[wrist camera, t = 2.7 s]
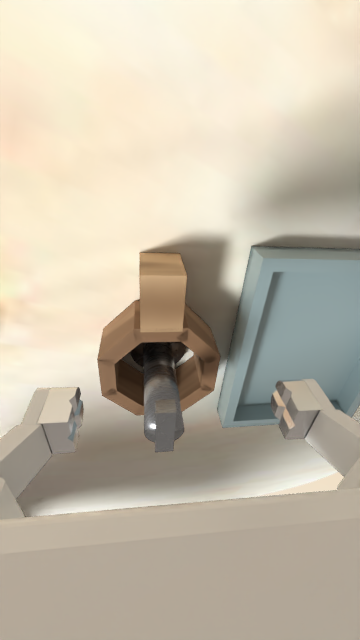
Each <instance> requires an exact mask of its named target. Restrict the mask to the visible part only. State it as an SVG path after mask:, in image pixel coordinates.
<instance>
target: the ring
mask: <svg viewBox="0 0 360 640" xmlns="http://www.w3.org/2000/svg"><path fill="white" fill-rule="evenodd" d="M186 283H187V274H186V271H185V268H184V265H183V262H182V259H181V255H180V253H140V301H134V302H133V303H132V304H131V305H130V306H128V307H127V308H126V309H125V310H124V311H123V312H122V313H121V314H119V315H118V316H117V317H116V318H115V319H114V320H113V321H111V322H110V323H109V324H108V325H107V326H106V327H105V328H104V329H103V333H102V339H101V344H100V349H99V354H98V359H97V360H98V368H99V376H100V383H101V391H102V396H104V397H105V398H107V399H109V400H111V401H113V402H114V403H116V404H118V405H120V406H121V407H123V408H125V409H127V410H128V411H130V412H132V413H134V414H135V415H144V373H141V372H140V371H138V370H137V369H135V368H134V367H132V366H131V365H129V364H128V363H126V362H125V361H123V360H122V358H123V357H124V356H125V355H126V354H128V353H129V352H130V351H131V350H133V349H134V348H135V347H136V346H138V345H139V344H140V343H141V342H182V343H183V344H184V345H186V346H187V347H188V348H189V349H190V350H192V351H193V352H194V356H193V357H191V358H190V359H189V360H187V361H186V362H185V363H183V364H182V365H181V366H179V367H178V368H176V369H175V370H176V377H177V384H178V391H179V397H180V404H181V411H184V410H185V409H187V408H188V407H190V406H191V405H193V404H194V403H196V402H197V401H199V400H200V399H202V398H203V397H205V396H206V395H208V394H209V393H211V392H212V391H214V387H215V382H216V377H217V371H218V366H219V361H220V354H219V351H218V348H217V345H216V343H215V340H214V337H213V334H212V331H211V329H210V327H209V326H208V325H207V324H206V323H205V322H204V321H203V320H202V319H201V318H200V317H199V316H198V315H197V314H196V313H194V312H193V311H192V310H191V309H190V308H189V307H188V306H187V305H186V304H185V295H186Z"/></svg>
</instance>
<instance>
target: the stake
mask: <svg viewBox="0 0 360 640" xmlns="http://www.w3.org/2000/svg"><path fill="white" fill-rule="evenodd" d="M184 352H185V345H184V344H183V343H182V342H141V343H140V344H139V345H138V346H136V347H135V348H134V349H133V350H131V351H130V354H131V356H132V358H133V360H134V361H135V362H136V363H137V364H139V365H140V366H142V367H144V433H145V436H146V438H147V439H148V440H150V441H152V442H155V452H166V451H173V446H174V440H176V439H178V438H179V437H180V436H181V435H182V434H183V432H184V425H183V418H182V411H181V404H180V397H179V391H178V384H177V377H176V370H175V364H176V363H177V362H178V361H179V360H180V359H181V358H182V357H183V355H184Z"/></svg>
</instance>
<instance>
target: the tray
mask: <svg viewBox="0 0 360 640" xmlns="http://www.w3.org/2000/svg"><path fill="white" fill-rule="evenodd" d="M295 379H314V380H315V381H316V382H317V383H318V385H319V386H320V388H321V389H322V390H323V392H324V393H325V395H326V396H327V398H328V399H329V401H330V402H331V404H332V405H333V406H334V408H335V409H336V410H340V411H342V412H343V413H345V414H346V415H348V416H350V417H351V418H352V416H353V414H354V413H355V411H356V410H357V408H358V406H359V405H360V249H340V248H302V247H263V246H251V251H250V255H249V260H248V265H247V270H246V274H245V279H244V284H243V289H242V293H241V298H240V303H239V308H238V312H237V317H236V322H235V327H234V331H233V336H232V341H231V346H230V350H229V355H228V360H227V365H226V369H225V374H224V379H223V384H222V388H221V393H220V398H219V403H218V407H217V410H218V413H219V417H220V421H221V424H222V428H228V427H244V426H259V425H275V424H279V422H280V420H279V419H278V418H277V417H275V416H274V414H273V411H272V408H271V397H272V394H273V393H274V392H275V391H277V389H276V387H275V386H276V383H277V382H278V381H279V380H295Z"/></svg>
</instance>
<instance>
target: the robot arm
mask: <svg viewBox="0 0 360 640" xmlns="http://www.w3.org/2000/svg"><path fill="white" fill-rule="evenodd" d="M275 387H276V389H277V391H275V392H274V393H273V394H272V397H271V408H272V411H273V414H274V416H275V417H277V418H278V419H279V420H280V422H279V427H280V429H281V431H282V433H283V436H284V438H285V439H305V441H307V442H308V443H309V444H310V445H311V446H312V447H313V448H314V449H315V450H316V451H317V452H318V453H319V454H320V455H321V456H322V457H323V458H324V459H326V460H327V461H328V462H329V463H330V464H331V465H332V466H333V467H334V468H335V469H336V470H337V471H338V472H339V473H341V475H342V476H344V478H343V479H342V481H341V482H340V483H339V485H338V487H337V490H332V491H319V492H308V493H297V494H285V495H274V496H262V497H251V498H239V499H228V500H216V501H205V502H193V503H182V504H171V505H159V506H148V507H137V508H125V509H114V510H103V511H91V512H80V513H69V514H57V515H45V516H34V517H24V516H25V515H24V514H23V512H22V510H21V508H20V507H19V505H18V503H17V501H16V499H17V498H18V496H19V495H20V494H21V493H22V491H23V490H24V489H25V488H26V487H27V485H28V484H29V483H30V482H31V481H32V479H33V478H34V477H35V476H36V474H37V473H38V472H39V471H40V470H41V468H42V467H43V466H44V465H45V464H46V462H47V461H48V460H49V459H50V457H51V456H52V454H59V453H71V452H76V448H77V444H78V439H79V433H78V428H79V427H80V426H81V425H82V420H83V403H82V401H81V400H80V395H81V393H80V389H79V388H78V387H65V388H37V390H36V391H35V392H34V394H33V397H32V399H31V401H30V404H29V406H28V409H27V411H26V413H25V416H24V418H23V420H22V423H21V425H16V426H15V427H14V428H13V429H11V430H10V431H9V432H8V433H7V434H5V435H4V436H3V437H2V438H1V439H0V640H360V423H359V422H357V421H356V420H354V419H353V418H351V417H350V416H348V415H346V414H345V413H343V412H342V411H340V410H336V409H335V408H334V406H333V405H332V404H331V402H330V401H329V399H328V398H327V396H326V395H325V393H324V392H323V390H322V389H321V388H320V386H319V385H318V383H317V382H316V381H315V380H314V379H295V380H279V381H278V382H277V383H276V386H275Z"/></svg>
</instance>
